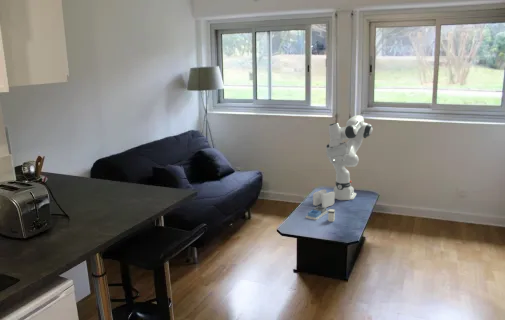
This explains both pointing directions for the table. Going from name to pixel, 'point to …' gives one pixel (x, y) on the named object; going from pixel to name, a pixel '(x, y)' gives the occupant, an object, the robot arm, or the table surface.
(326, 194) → the cable organizer
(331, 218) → the plug
